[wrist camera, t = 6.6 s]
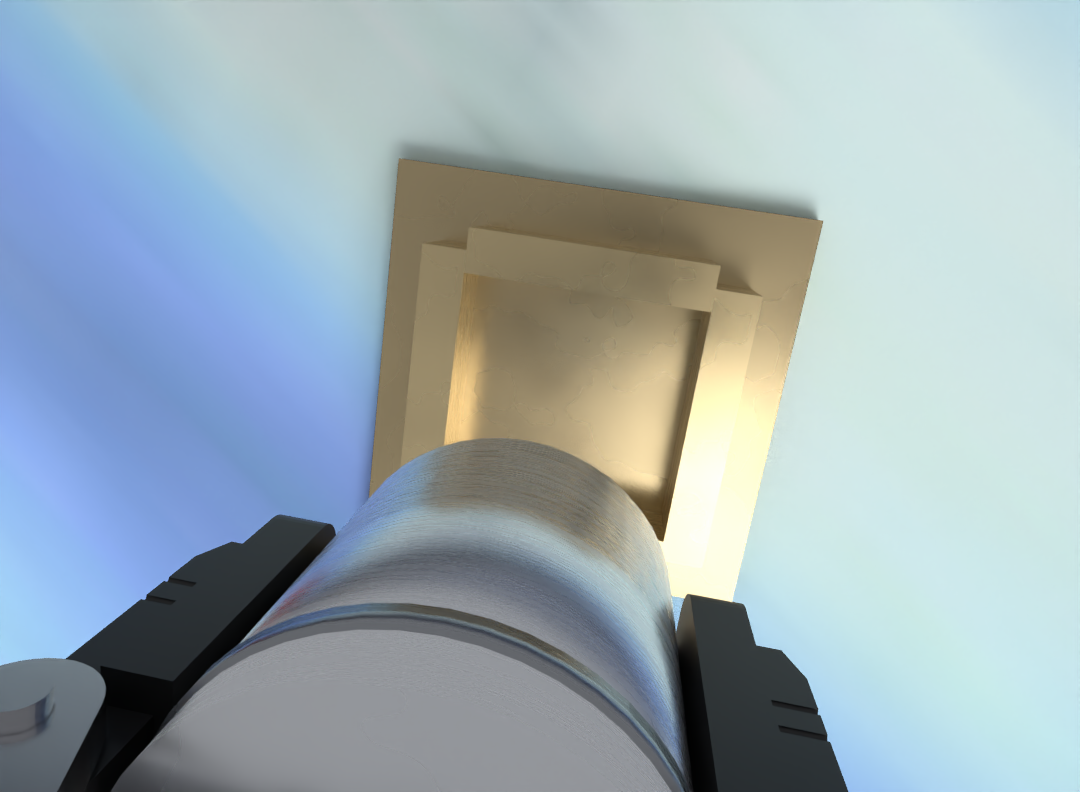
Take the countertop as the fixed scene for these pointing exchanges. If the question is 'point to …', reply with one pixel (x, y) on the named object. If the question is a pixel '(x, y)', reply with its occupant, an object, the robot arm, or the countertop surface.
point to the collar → (596, 342)
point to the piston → (452, 647)
